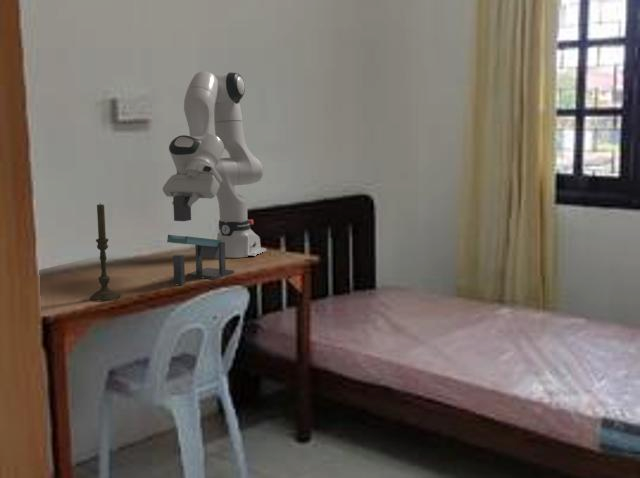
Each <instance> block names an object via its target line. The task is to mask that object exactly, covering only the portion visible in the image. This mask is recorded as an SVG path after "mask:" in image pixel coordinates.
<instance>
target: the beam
mask: <svg viewBox="0 0 640 478" xmlns="http://www.w3.org/2000/svg"><path fill="white" fill-rule="evenodd" d="M221 241H222V240H217V239H213V238H204V237H196V236H189V235H188V236H186V235H185V236H183V235H174V234H167V243H172V244H182V245H192V246H195V245H201V253H200V257H202V258H207V259H209V258H210V259H219V243H220V242H221Z"/></svg>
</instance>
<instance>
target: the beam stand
mask: <svg viewBox="0 0 640 478" xmlns="http://www.w3.org/2000/svg"><path fill="white" fill-rule="evenodd" d="M194 247H195V270H194V271H191V272H188V273H186V269H185V254H174V255H172V260H173V261H172V265H173V285H174V284H178V285H177V286H181V285H182V286H184V285H183V284H185V285H186V278H185V277H188V276H192V277H191V278H197V277H204V278H203V279H206V278H210V279H209V280H217V279H220V278H223V277H227V276H230V275H233V274H235V270H234V269H233V270H232V269H227V268H226V257H225V242H220V243H219V258H218V266H219V267H218V268H214V267H205V268H203V257H200V253H201V245H194ZM185 273H186V274H187V275H185Z"/></svg>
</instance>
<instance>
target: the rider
mask: <svg viewBox="0 0 640 478" xmlns="http://www.w3.org/2000/svg"><path fill="white" fill-rule="evenodd" d="M172 198H173V201H172V202H173V203H174V206H173V221H175V222H188V221H192V206H191V207H187V206H186V205H185V203H186V201H187V200H189V199H190V196H175V197H172Z"/></svg>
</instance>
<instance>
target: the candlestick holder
mask: <svg viewBox="0 0 640 478" xmlns="http://www.w3.org/2000/svg"><path fill="white" fill-rule="evenodd" d="M96 211H97V215H96V216H97V233H98V235H97V236H98V238H96V239H95V242H96V243H97V244H96V247H97V250H99V251H100V253H99V260H100V269H101V272H100V273H101V274H100V276H99V277H98V283H99V284H100V286H101V287H100V288H99V290H97V291H95V292H94V293H93V294H91V295H90V296H89V300H91V301H93V300H101V301H100V302H103V301H102V300H111V299H115V298H118V297H119V296H120V297H121V295H120V293H117V292H116V291H115V290H113V289H110V288H109V285H108V284H109V283H110V279H111V277H110V276H109V275H108V274H107V264H106V263H107V262H106V261H107V252H106V250H107V249H108V247H109V245H108V242H109V238H107V236H106V233H107V232H106V217H105V216H106V214H105V204H101V202H99V204H96ZM118 299H119V298H118ZM111 301H112V300H111Z"/></svg>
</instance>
